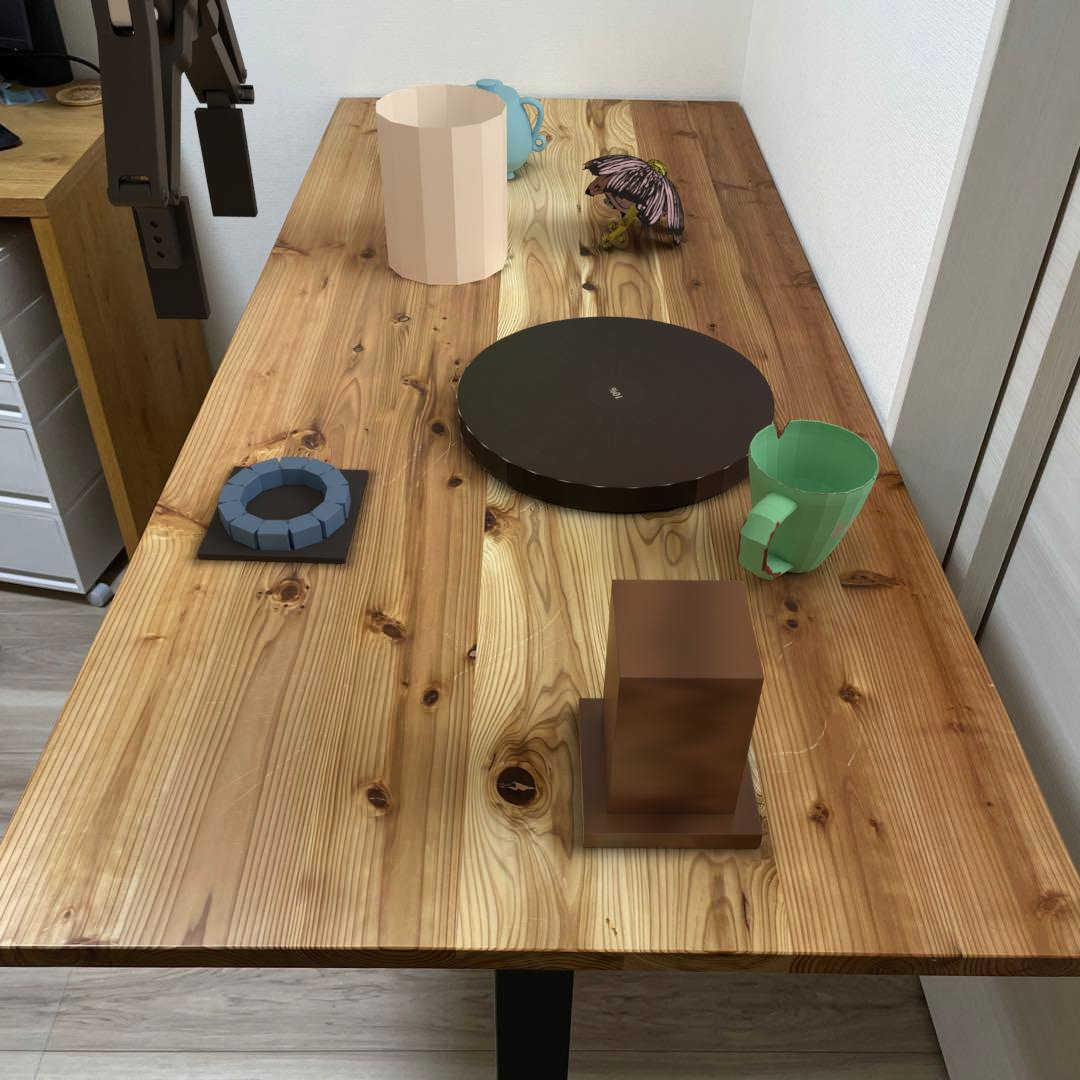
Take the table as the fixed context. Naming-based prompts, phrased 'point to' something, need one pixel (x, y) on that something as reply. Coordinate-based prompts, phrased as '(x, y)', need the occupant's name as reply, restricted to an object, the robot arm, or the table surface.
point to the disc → (613, 413)
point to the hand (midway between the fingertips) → (212, 261)
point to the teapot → (517, 123)
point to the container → (444, 182)
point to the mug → (803, 495)
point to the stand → (673, 720)
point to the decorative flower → (636, 194)
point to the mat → (287, 506)
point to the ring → (284, 531)
